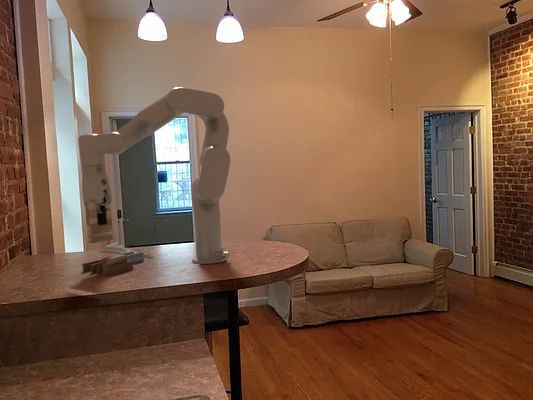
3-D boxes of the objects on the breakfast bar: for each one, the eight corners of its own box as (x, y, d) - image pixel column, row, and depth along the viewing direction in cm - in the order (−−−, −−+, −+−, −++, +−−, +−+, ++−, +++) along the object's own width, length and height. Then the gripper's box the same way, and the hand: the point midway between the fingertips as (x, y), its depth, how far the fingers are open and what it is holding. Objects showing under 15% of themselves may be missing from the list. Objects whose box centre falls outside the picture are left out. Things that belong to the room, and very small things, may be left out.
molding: (157, 260, 180) (157, 253, 180) (126, 265, 173) (126, 257, 173) (121, 247, 214) (121, 241, 214) (95, 250, 207) (94, 244, 207)
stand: (149, 263, 171) (148, 251, 171) (125, 269, 162) (124, 257, 162) (132, 261, 176) (132, 250, 176) (108, 267, 167) (107, 255, 167)
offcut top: (127, 262, 157) (126, 255, 156) (109, 266, 151) (108, 259, 151) (120, 261, 159) (119, 254, 158) (102, 265, 153) (102, 258, 152)
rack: (135, 272, 158) (134, 260, 157) (108, 279, 148) (108, 267, 148) (107, 268, 166) (106, 257, 166) (80, 275, 157) (79, 263, 156)
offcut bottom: (128, 269, 157) (128, 262, 157) (108, 274, 151) (108, 267, 150) (121, 268, 159) (121, 261, 159) (102, 273, 152) (101, 266, 152)
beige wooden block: (113, 239, 161) (110, 199, 160) (93, 243, 154) (90, 201, 154) (107, 239, 163) (104, 199, 162) (87, 242, 156) (84, 201, 155)
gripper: (118, 169, 155) (123, 223, 157) (88, 171, 164) (93, 222, 166) (99, 170, 149) (105, 226, 151) (69, 172, 158) (75, 226, 160)
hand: (99, 224), depth 158 cm, fingers closed on beige wooden block, 3 cm apart
